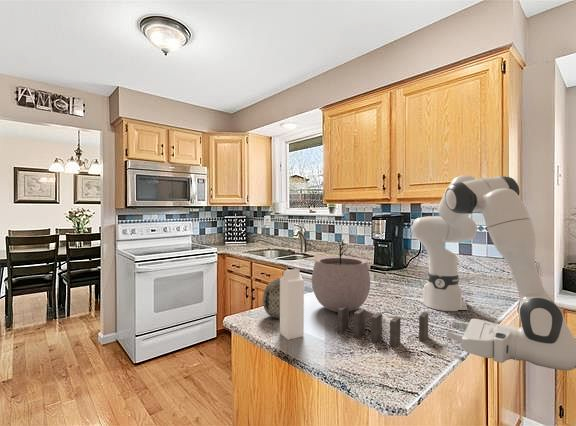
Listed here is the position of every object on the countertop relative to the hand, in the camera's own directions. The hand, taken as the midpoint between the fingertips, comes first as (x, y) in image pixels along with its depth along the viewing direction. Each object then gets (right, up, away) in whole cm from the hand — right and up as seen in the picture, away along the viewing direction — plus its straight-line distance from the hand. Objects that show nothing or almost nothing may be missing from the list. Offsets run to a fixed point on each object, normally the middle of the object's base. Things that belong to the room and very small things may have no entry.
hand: (449, 329), depth 98 cm
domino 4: (-17, -5, 0) cm, 18 cm away
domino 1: (-31, -5, +11) cm, 34 cm away
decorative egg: (-54, -4, +24) cm, 59 cm away
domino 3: (-22, -5, +4) cm, 23 cm away
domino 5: (-6, -5, +5) cm, 9 cm away
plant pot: (-29, -4, +33) cm, 44 cm away
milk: (-49, -5, +7) cm, 50 cm away
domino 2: (-27, -5, +7) cm, 28 cm away
